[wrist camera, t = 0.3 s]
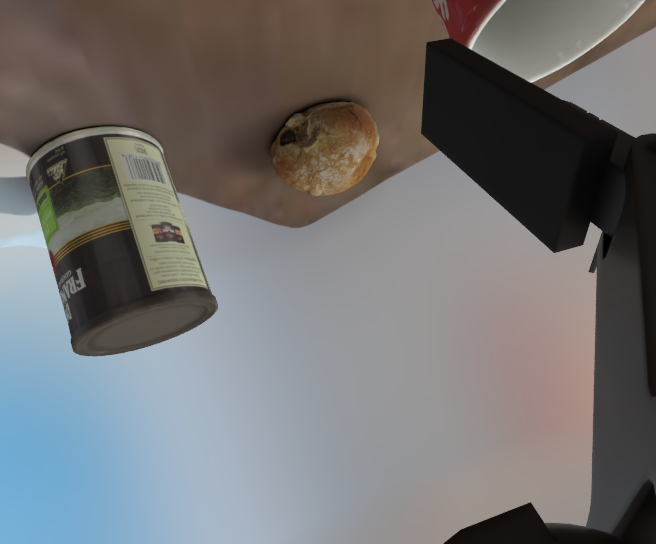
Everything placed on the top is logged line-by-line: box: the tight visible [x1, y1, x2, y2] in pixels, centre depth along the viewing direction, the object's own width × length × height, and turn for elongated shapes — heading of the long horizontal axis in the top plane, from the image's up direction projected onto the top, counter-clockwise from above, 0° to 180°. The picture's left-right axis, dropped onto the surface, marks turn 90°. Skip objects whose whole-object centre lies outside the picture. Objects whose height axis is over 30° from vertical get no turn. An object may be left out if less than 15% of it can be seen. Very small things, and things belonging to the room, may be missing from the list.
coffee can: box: [26, 126, 218, 356], centre depth 40 cm, size 10×10×14 cm
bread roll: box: [270, 101, 380, 196], centre depth 50 cm, size 10×10×8 cm
